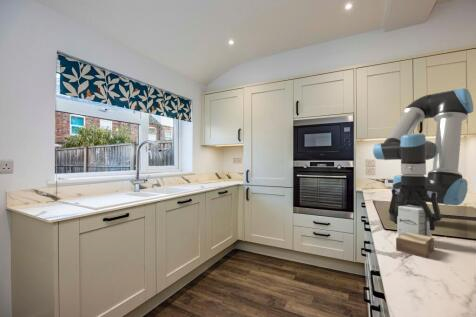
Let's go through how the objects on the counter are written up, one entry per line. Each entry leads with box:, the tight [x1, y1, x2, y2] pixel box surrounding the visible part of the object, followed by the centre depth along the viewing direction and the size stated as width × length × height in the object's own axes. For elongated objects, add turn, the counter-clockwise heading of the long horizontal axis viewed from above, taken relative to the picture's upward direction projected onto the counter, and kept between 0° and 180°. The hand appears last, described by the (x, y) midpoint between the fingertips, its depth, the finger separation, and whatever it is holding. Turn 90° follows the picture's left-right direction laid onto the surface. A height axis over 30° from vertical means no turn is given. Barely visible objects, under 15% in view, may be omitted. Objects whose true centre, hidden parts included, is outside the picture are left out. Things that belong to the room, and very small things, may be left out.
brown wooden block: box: [395, 232, 435, 259], centre depth 77 cm, size 10×8×4 cm
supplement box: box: [397, 205, 431, 237], centre depth 86 cm, size 7×7×13 cm
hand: (413, 235), depth 86 cm, fingers closed on supplement box, 8 cm apart
